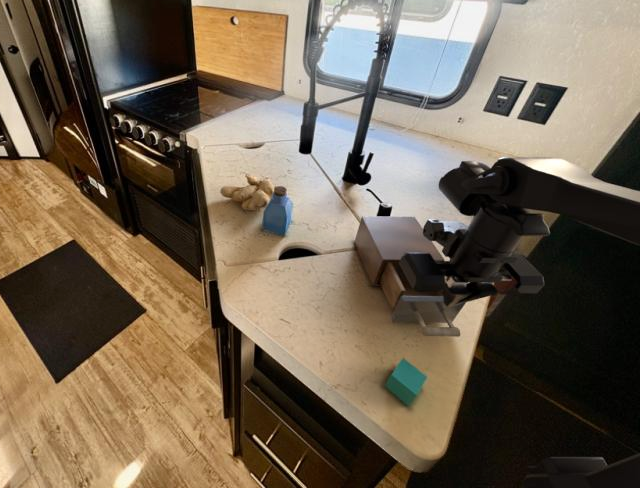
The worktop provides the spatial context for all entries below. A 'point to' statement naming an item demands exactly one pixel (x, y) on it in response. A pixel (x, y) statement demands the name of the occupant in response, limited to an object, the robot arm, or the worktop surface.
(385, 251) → the drawer cabinet
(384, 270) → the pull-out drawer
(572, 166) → the robot arm
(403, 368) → the teal block
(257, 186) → the ginger root
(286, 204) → the perfume bottle
